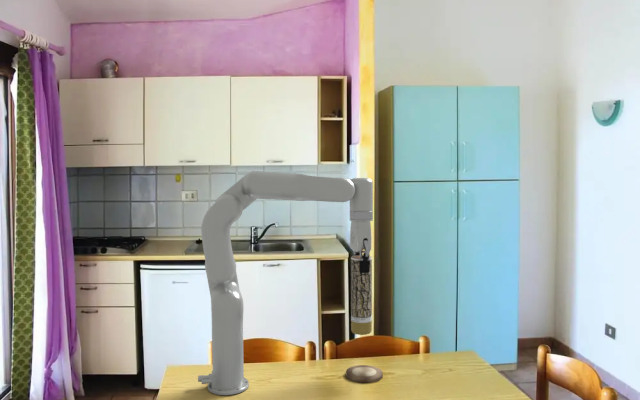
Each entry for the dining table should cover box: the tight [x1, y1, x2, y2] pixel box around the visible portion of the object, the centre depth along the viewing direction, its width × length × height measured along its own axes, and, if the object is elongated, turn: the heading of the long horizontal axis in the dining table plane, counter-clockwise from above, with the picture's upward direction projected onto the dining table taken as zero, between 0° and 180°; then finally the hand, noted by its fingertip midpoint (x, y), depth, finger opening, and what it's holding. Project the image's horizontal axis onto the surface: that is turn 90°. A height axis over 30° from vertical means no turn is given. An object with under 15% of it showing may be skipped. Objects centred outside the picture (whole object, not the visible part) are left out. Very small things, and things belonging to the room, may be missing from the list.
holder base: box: [345, 364, 383, 384], centre depth 174 cm, size 12×12×1 cm
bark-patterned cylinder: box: [350, 255, 373, 336], centre depth 174 cm, size 7×7×25 cm
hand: (361, 270), depth 173 cm, fingers closed on bark-patterned cylinder, 6 cm apart
